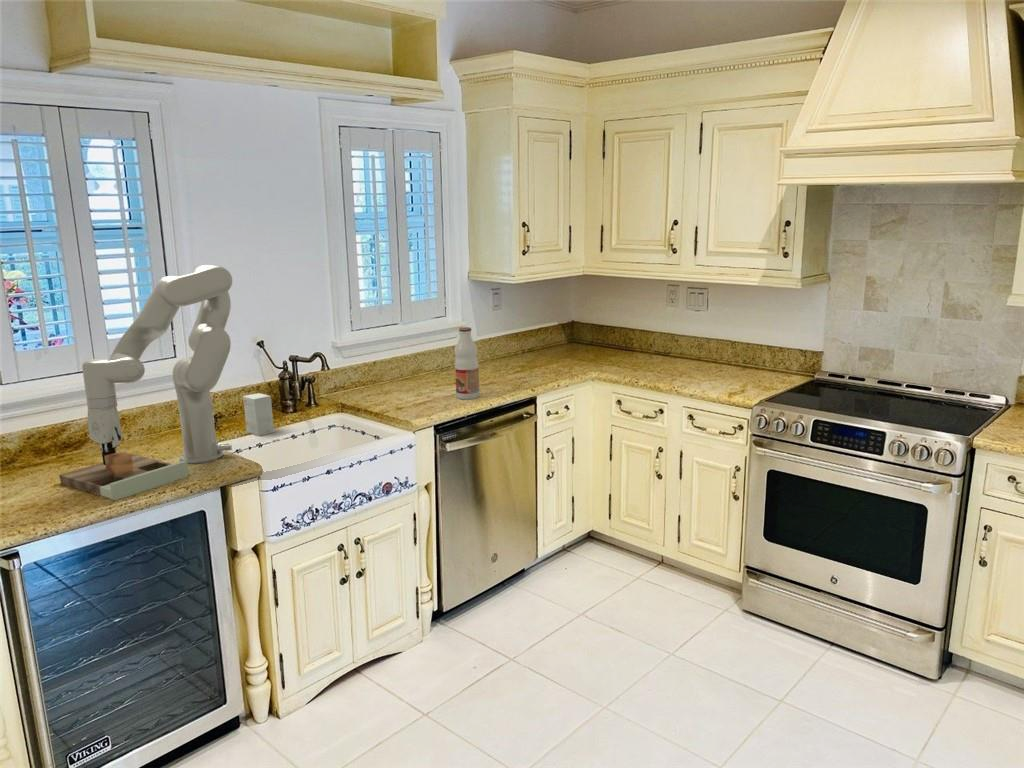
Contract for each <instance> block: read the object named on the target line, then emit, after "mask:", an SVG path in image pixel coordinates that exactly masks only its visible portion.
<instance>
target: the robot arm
mask: <svg viewBox="0 0 1024 768" xmlns="http://www.w3.org/2000/svg"><path fill="white" fill-rule="evenodd" d="M232 286H233V276H232V274H231V272H229V270H228V269H227V268H225V267H223V266H220V265H212V264H203V265H200V266H198V267H196V268H195V269H194V270H193V273H189V274H185V275H180V276H175V275H167V276H164V277H161V278H160V279H159V280H158V282H157V283H156V284H155V286H154V288H153V290H152V291H151V293H150V295H149V296H148V298H147V300H146V302H145V303H144V306H143V308H142V309H141V311H140V313H139V314H138V315H137V317H136V319H135V320H134V321H133V323H131V324H130V326H129V328H128V329H127V330H126V331H125V332H124V334H123V335H122V336H121V337H120V339H119V340H118V342H117V344H116V345H115V347H114V349H113V351H112V353H111V354H110V356H109V359H108V358H107V359H106V358H93V359H88V360H85V361H84V362H83V363H82V366H81V367H82V375H83V384H84V391H85V397H86V405H87V425H88V426H87V428H88V437H89V439H90V440H91V441H93V442H96V443H97V444H98V445H99V449H100V451H101V456H102V463H103V464H104V465H106V463H105V457H104V456H106V455H109V454H113V453H116V452H117V447H120V441H121V440H122V438H123V431H122V425H121V421H120V415H119V411H118V408H117V407H118V399H117V390H116V384H131V383H135V382H138V381H140V380H141V379H142V378H143V377H144V375H145V372H146V369H145V365H144V363H143V362H142V360H140V359H141V357H142V355H143V354H144V352H145V350H146V349H147V348H148V347H149V346H150V345H151V344H152V343H153V342H154V341H156V340H157V339H159V338H160V337H163V335H165V333H166V332H167V330H168V329H169V327H170V325H171V323H172V321H173V320H174V318H175V317H176V314H177V313H178V311H179V309H180V308H181V307H185V306H191V305H193V304H197V303H200V306H199V310H198V314H197V315H196V319H195V321H194V323H193V326H192V329H191V331H190V334H189V336H188V341H187V342H188V346H189V348H190V349H191V350H192V351H193V352H194V353H193V355H192V356H187V357H182V358H181V359H179V360H177V361H176V363H175V364H174V366H173V369H172V380H173V381H172V382H173V387H174V388H175V393H176V398H177V403H178V406H177V407H178V414H179V420H180V430H181V437H182V445H183V451H184V452H183V453H182V454H180V455H179V462H181V461H187V464H199V463H206V462H211V461H216V460H217V459H219V458H221V457H223V455H224V451H232V449H233V448H232V446H233V445H232V443H229V442H225V443H221V442H219V441H220V440H219V439H217V436H216V428H215V419H214V412H213V411H214V410H213V402H212V396H211V390H213V389H214V388H215V387H216V385H217V384H218V382H219V380H220V377H221V375H222V373H223V371H224V367H225V365H226V362H227V359H228V357H229V354H230V351H231V346H232V345H231V343H232V342H231V338H230V335H229V333H228V332H227V331H226V330H225V329H226V325H227V323H228V319H229V316H230V313H231V307H232V302H231V298H230V297H231V296H230V293H229V290H231V288H232Z"/></svg>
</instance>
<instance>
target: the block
mask: <svg viewBox="0 0 1024 768" xmlns="http://www.w3.org/2000/svg"><path fill="white" fill-rule="evenodd" d="M131 454H132V453H131V452H126V451H122V450H120V451H116V453H113V454H109V455H106V456H104V457H105V463H106V470H107V473H110V474H114V475H119V474H123V473H126V472H129V471H133V464H132V457H131Z"/></svg>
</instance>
